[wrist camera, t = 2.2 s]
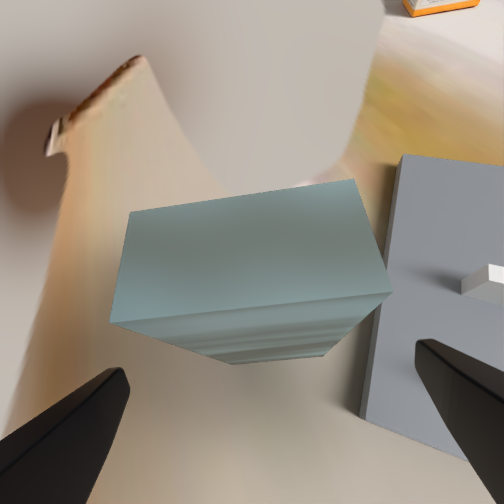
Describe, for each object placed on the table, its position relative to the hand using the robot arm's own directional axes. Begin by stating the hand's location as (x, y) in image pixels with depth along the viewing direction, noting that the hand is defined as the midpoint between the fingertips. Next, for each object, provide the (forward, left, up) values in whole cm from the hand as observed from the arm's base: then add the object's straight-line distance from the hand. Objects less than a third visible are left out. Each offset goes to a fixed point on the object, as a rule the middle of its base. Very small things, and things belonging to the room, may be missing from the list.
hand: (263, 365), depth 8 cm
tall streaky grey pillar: (+2, -1, -10) cm, 10 cm away
